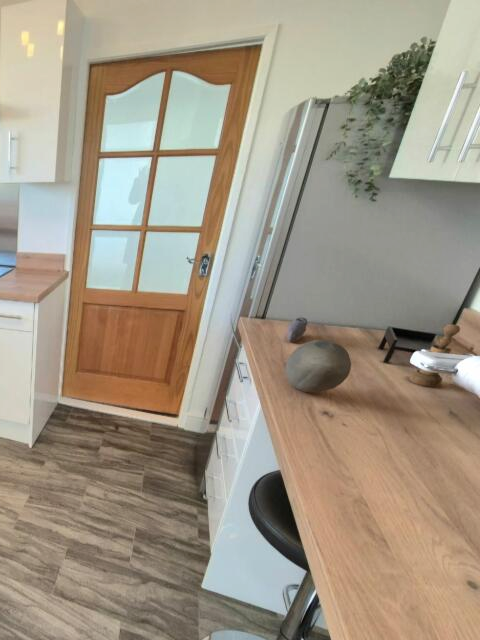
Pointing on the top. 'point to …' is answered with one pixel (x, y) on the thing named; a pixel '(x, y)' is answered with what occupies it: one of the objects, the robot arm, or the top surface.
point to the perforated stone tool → (296, 329)
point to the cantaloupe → (318, 366)
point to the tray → (406, 341)
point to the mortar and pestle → (449, 331)
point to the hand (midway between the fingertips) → (444, 353)
